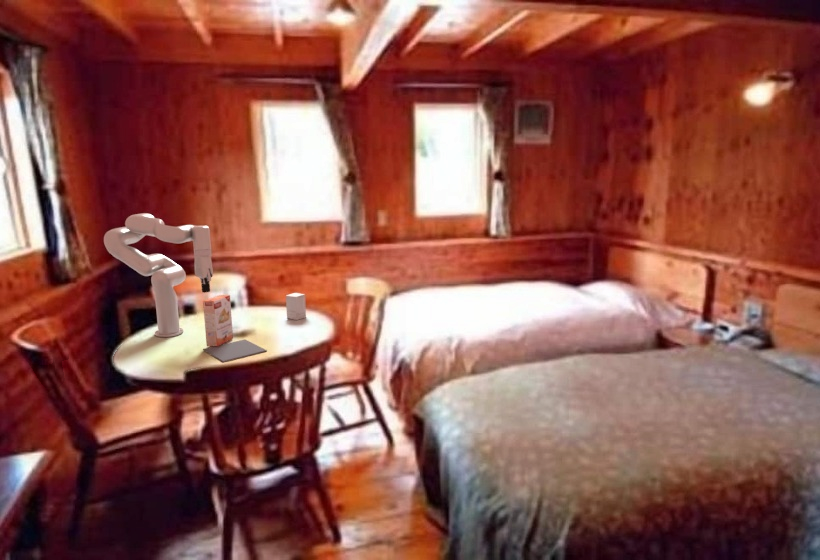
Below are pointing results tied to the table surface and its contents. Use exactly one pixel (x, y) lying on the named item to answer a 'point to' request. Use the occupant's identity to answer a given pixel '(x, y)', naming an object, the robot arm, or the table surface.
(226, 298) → the cracker box
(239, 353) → the mat
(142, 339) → the table surface
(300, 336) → the table surface
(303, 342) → the table surface
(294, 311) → the supplement box
